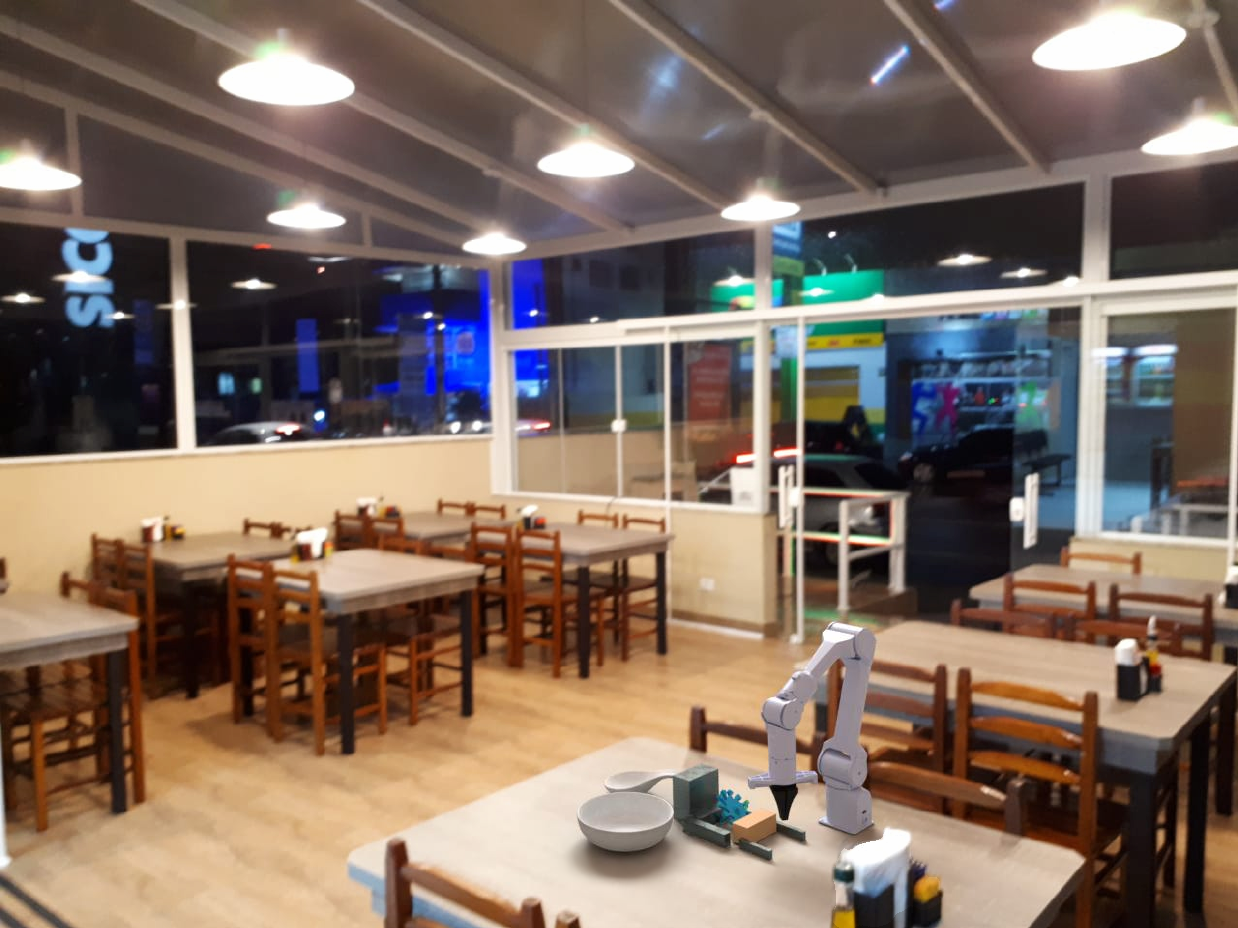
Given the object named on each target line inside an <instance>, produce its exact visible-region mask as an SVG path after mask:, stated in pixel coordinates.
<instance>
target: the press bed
mask: <svg viewBox="0 0 1238 928" xmlns="http://www.w3.org/2000/svg"><path fill="white" fill-rule="evenodd" d="M719 794H720V783H719V768H717V767H715V766H711V765H709V764H706V763H703V762H702V763H701V762H700V763H699V764H696V765H694V766H691V767H690V768H687V769H685V770H682V771H680V773H678V774H675V775H673V779H672V799H673V801H672V802H673V805H672V807H673V810H674V817H673V820H676V821H679V822H680V823H682V832H683V833H685V832H686V833H685V834H687V833H688V834H687V835H690V836H693V837H695V838H698V839H699V840H702V841H704V842H707V843H709V844H712V845H714V846H717V847H719V848H722V849H724V850H725V849H728V848H729V847H731V846H732V845H731V844H732V839H731V838H732V834H731V831H729V830H727V829H725V828H722V827H719V826H717V825H718V824H721V823H720V822H719V821H720V820H721V819H722V818H723V816H722V814H721V813H722V812H723V811H724V810H723V809H720V808H718V805H717V804H718V803H719V802H720V801H719V800H718V799H717V796H718V795H719ZM775 833H779V834H782V835H784V836H787V837H789V838H792V839H795V840H798V841H799V842H805V841H806V840H807V839H806V837H807V836H806V835H807V834H806V830H804V829H801V828H798V827H795V826H792V825H791V824H787V823H785V822H783V821H782V822H781V821H780V820H777V819H776V832H775ZM738 849H739V850H741V851H744V852H747V853H749V854H752V855H754V856H757V857H759V858H761V859H763V860H767V861H770V862H771V861H772V860H773V849H772V848H769V847H766V846H765V845H762V844H758V842H756V843H754V842H752V841H749V840H747V839H744V838H740V839H739V843H738Z"/></svg>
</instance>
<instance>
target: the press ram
mask: <svg viewBox="0 0 1238 928" xmlns="http://www.w3.org/2000/svg"><path fill="white" fill-rule="evenodd" d="M776 820H777V812H773V811H771V810H768V809H765V808H762V807H761V808H759V809H756V810H755V811H752V813H751V814H749V815H747V816H745V817H743V818H741V819H739V820H737V821H735V822H733V823H732V826H733V827H732V826H731V827H732V842H735V843H737V844H739V839H740V838H744V839H747V840H749V841H752V842H754V843H758V842H759V841H761V840H763V839H765V838H767V837H768V836H769V837H770V835H772V834H774V833H777V832H776Z"/></svg>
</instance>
